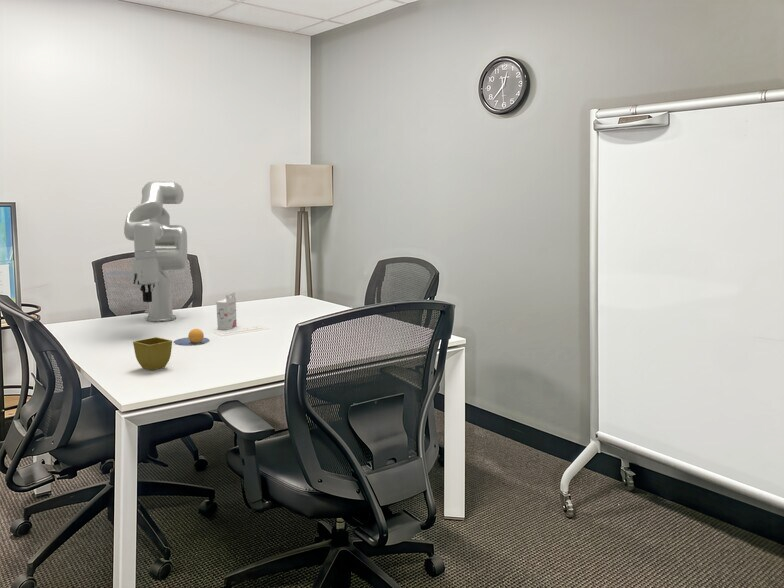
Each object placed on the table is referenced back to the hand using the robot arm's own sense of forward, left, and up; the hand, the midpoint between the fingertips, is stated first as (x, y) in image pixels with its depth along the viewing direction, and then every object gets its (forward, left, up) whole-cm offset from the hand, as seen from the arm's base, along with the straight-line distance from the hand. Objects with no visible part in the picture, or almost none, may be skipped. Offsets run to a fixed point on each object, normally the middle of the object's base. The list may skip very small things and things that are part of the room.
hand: (147, 301), depth 248 cm
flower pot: (+38, -34, -14) cm, 53 cm away
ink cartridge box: (+17, +26, -14) cm, 34 cm away
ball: (+26, -1, -11) cm, 28 cm away
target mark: (+22, 0, -13) cm, 26 cm away
